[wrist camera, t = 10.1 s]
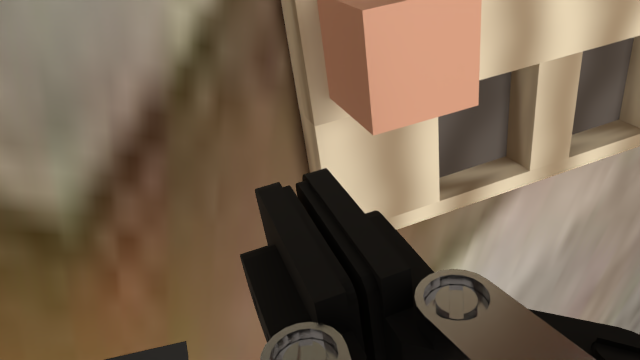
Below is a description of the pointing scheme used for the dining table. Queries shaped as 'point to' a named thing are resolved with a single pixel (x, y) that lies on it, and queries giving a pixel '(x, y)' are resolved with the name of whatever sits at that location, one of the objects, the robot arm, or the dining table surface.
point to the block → (401, 58)
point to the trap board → (484, 109)
